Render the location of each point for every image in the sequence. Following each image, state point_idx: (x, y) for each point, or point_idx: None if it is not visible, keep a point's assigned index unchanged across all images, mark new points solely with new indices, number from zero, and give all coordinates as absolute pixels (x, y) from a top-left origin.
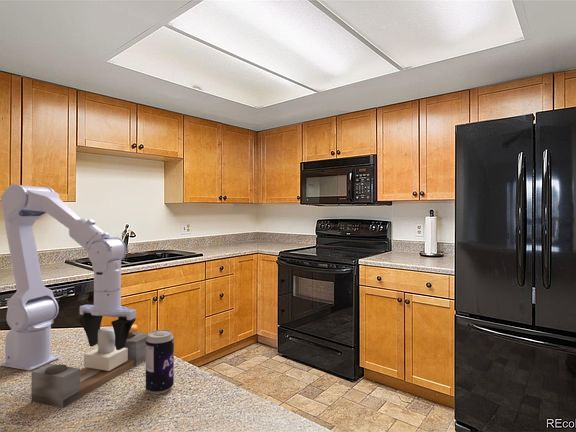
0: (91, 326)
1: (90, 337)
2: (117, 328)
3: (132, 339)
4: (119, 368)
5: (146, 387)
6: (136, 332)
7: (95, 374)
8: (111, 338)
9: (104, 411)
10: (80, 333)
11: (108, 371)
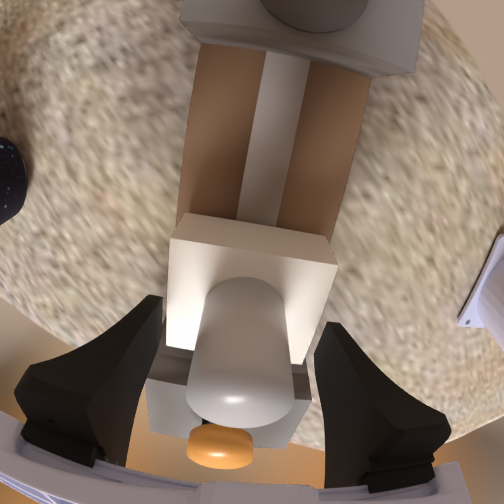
0: (355, 411)
1: (342, 352)
2: (70, 363)
3: (181, 397)
4: None
5: (7, 143)
6: None
7: (237, 188)
8: (194, 350)
9: (74, 10)
10: None
11: None
